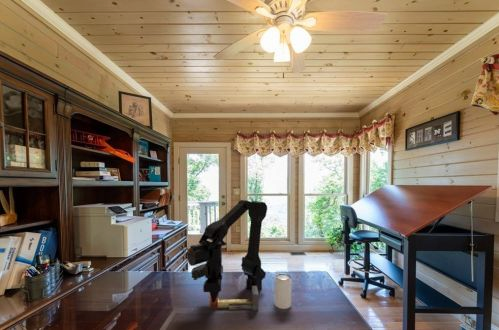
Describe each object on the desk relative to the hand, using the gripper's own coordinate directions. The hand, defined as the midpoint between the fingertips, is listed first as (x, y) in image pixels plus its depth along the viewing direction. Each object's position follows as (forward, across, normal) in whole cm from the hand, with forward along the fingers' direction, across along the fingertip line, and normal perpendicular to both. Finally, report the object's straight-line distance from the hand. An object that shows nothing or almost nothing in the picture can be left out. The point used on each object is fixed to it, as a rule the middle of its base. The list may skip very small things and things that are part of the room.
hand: (214, 299), depth 96 cm
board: (+4, 0, +6) cm, 7 cm away
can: (+4, 0, +27) cm, 27 cm away
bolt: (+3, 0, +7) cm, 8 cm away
